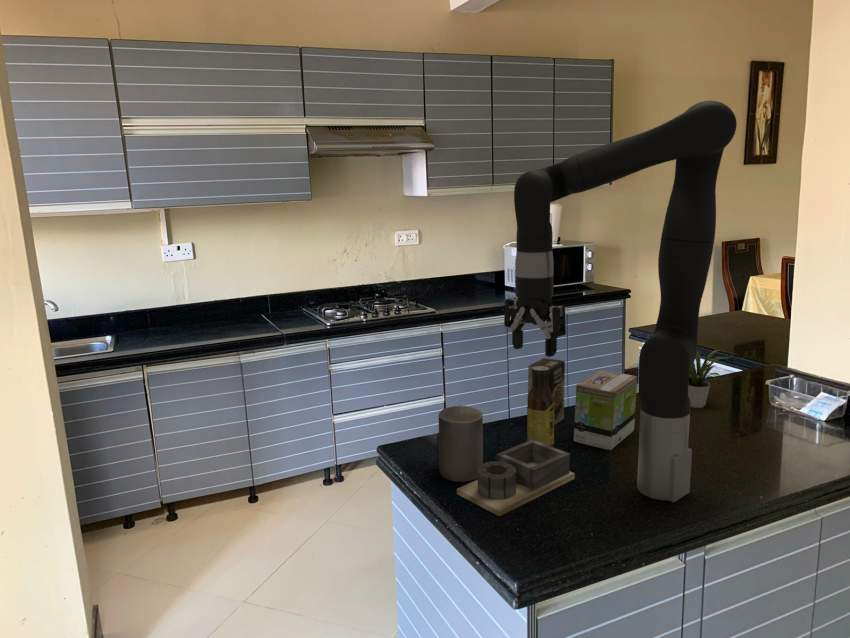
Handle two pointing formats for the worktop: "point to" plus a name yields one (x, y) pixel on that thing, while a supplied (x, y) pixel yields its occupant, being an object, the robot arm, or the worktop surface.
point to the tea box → (605, 409)
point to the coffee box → (553, 384)
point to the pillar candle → (460, 443)
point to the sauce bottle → (540, 408)
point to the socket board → (518, 477)
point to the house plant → (700, 380)
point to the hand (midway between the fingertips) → (533, 352)
